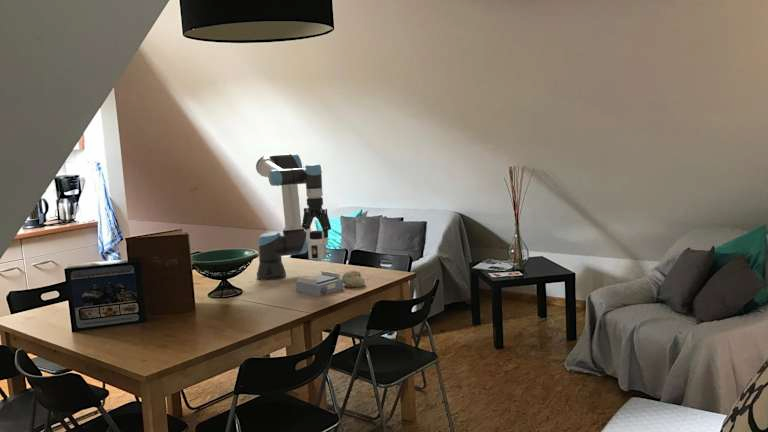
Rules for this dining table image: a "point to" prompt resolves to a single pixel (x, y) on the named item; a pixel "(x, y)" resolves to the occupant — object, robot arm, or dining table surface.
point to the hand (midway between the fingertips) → (317, 243)
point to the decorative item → (353, 279)
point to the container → (316, 246)
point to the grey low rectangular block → (320, 283)
